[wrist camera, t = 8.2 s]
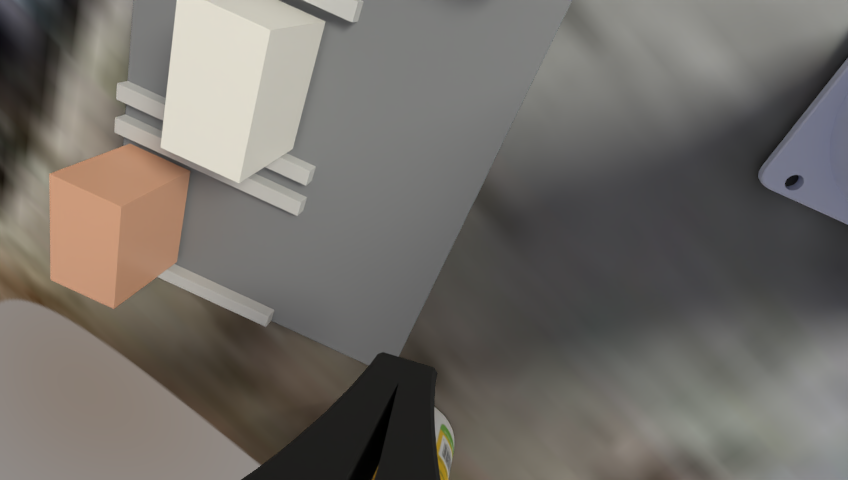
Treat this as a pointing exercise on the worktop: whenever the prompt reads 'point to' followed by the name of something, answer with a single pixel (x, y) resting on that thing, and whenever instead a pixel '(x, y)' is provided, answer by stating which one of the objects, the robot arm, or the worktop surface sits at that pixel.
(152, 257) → the salmon orange block
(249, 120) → the ivory rectangular block
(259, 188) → the switch panel
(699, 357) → the worktop surface
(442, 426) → the supplement bottle
